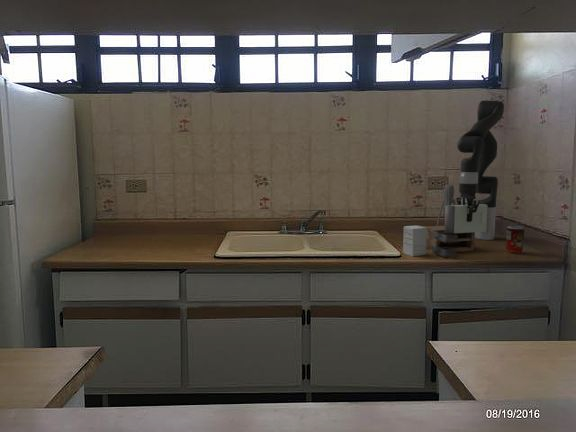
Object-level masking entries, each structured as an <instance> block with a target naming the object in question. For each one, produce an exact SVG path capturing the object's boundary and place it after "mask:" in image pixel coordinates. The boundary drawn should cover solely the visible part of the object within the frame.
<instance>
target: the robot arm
mask: <svg viewBox="0 0 576 432" xmlns="http://www.w3.org/2000/svg"><path fill="white" fill-rule="evenodd" d="M504 112H505V105H504V103H503V102H502V101H500V100H481V101H479V103H478V106H477V114H476V116H477V122H475V123H474V124H473V125H472V127H471V128H470V129H469V131H467V132H466V133H464V134H463V135H462V136H460V137H459V139H458V141H457V143H456V144H457V150H458V151H459V152H460V153H463V154H467V153H468V154H469V153H470V154H471V153H472V155H471V156H470V157H467V158H463V159H461V161H460V174H459V183H458V184H459V187H458V193H459V194H460V196H459V197H456V198H455V201H456V205H466V208H467V222H472V215H473V213H474V212H476V211H477V208H478V206H479V204H484V205H487V223H486V232H475V239H477V240H483V241H486V240H487V241H490V240H491V241H493V240H495V231H496V228H495V227H496V213H497V211H496V209H497V195H498V193H497V192H498V188H499V180H498V177H497V176H488V175H487V176H484V174H485V171H486V170H487V169H488V168H489V167H490V165H491V164H492V163H493V162H494V161H495V159H496V158H497V155H498V142H497V139H496V138H495V136H494V134H493V133H492V131H490V130H491V129H492V128H493V127H494V126H495V125H496V124H498V122H500V120H501V119H502V117H503V116H504ZM476 194H483V195H485V194H486V195H489V196H488V197H486V198H484V199H476ZM470 208H471V209H470ZM473 209H474V210H473Z"/></svg>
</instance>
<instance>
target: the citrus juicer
mask: <svg viewBox="0 0 576 432" xmlns="http://www.w3.org/2000/svg"><path fill="white" fill-rule="evenodd" d="M443 194H444V196H443V197H444V198H442V200H441V203H440V207H439V212H438V215H437V216H438V217H437V221H436V226H440V225H439V224H440V218H441V215H442V210H443V208H444V204H445V206H452V204H453V205H457V202H456V198H454V197H455V196H454V195H455V187H454V185H453V184H451V183H450V184H446V185H445V186H444V189H443Z"/></svg>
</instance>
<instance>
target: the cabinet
mask: <svg viewBox="0 0 576 432" xmlns="http://www.w3.org/2000/svg"><path fill="white" fill-rule="evenodd" d="M424 227H425V228H426V250H427V251H430V252H431V253H433V254H435V255H439V256H441V257H444V258H451V257H457V256H458V255H457V254H458V252H459V253H460V252H469V251H470V252H471V251H472V252H473V251H475V239H476V238H475V232H470V233H453V234H447V233H444V231H445V225H438V226H437V225H433V226H424Z"/></svg>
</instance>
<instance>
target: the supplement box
mask: <svg viewBox="0 0 576 432" xmlns="http://www.w3.org/2000/svg"><path fill="white" fill-rule="evenodd" d="M425 227H426V226H421V225H406V226H403V237H402V238H403V243H402V245H403V246H402V253H403V254H404V255H408V256H410V257H419V256H426V255H427V254H426V253H427V251H426V250H427V249H426V228H425Z"/></svg>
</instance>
